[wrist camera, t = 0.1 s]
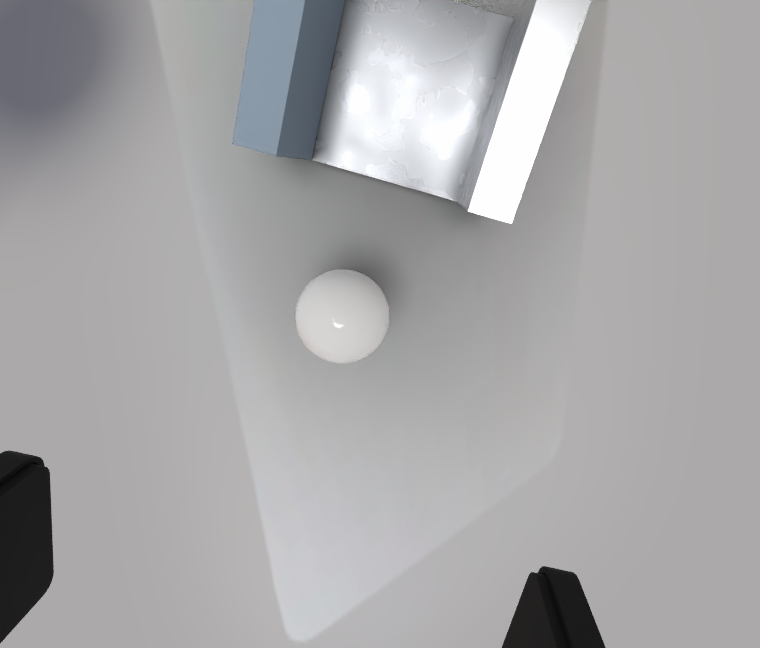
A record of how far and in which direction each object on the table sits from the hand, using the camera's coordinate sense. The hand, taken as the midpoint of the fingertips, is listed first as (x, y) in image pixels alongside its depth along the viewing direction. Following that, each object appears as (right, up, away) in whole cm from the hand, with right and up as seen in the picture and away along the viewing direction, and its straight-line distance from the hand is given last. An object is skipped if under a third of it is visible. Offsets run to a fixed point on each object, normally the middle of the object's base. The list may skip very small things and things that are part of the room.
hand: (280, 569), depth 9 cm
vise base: (+3, +22, +25) cm, 33 cm away
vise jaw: (-3, +22, +23) cm, 32 cm away
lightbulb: (0, +8, +30) cm, 31 cm away
